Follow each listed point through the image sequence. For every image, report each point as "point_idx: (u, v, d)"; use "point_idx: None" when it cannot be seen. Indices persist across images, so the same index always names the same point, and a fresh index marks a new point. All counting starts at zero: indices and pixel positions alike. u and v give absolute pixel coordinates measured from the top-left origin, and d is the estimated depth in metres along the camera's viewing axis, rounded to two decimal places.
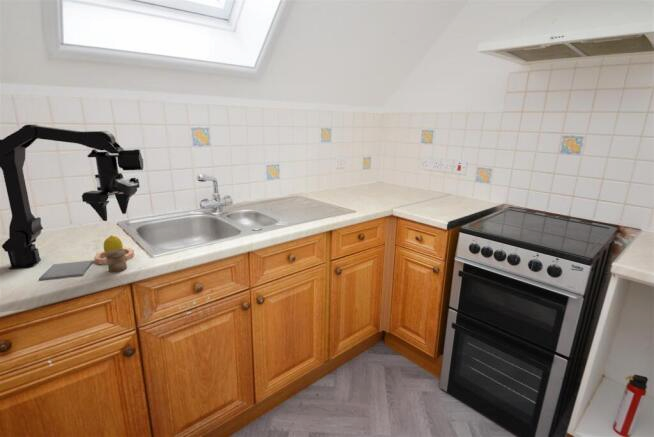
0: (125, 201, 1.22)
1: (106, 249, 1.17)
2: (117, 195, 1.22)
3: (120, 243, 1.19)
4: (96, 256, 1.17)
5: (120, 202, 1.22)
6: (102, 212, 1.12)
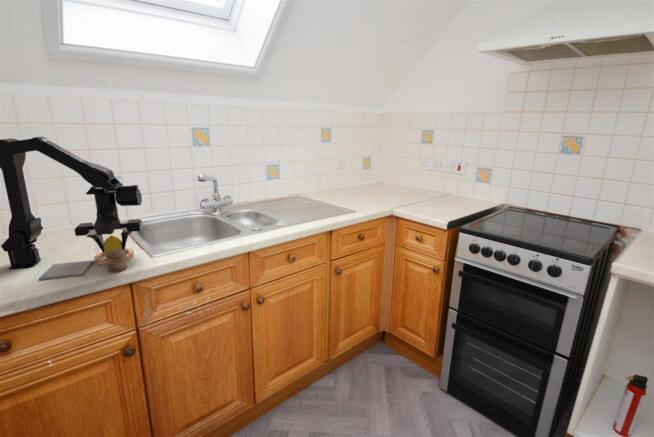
0: (122, 238, 1.19)
1: (106, 249, 1.17)
2: None
3: (120, 243, 1.19)
4: (96, 256, 1.17)
5: None
6: None
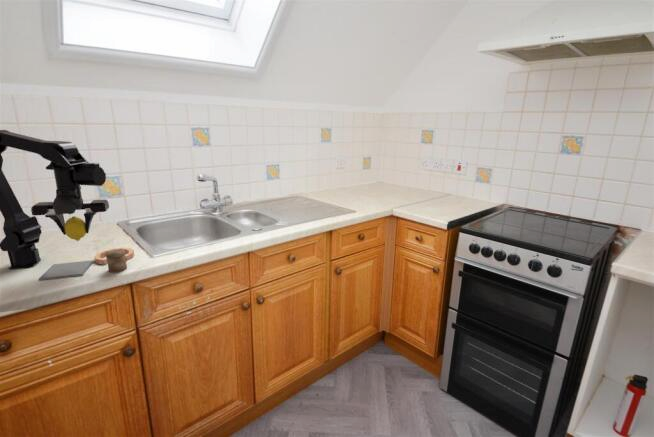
0: (85, 220, 1.09)
1: (67, 231, 1.07)
2: None
3: (83, 225, 1.10)
4: (96, 256, 1.17)
5: None
6: None
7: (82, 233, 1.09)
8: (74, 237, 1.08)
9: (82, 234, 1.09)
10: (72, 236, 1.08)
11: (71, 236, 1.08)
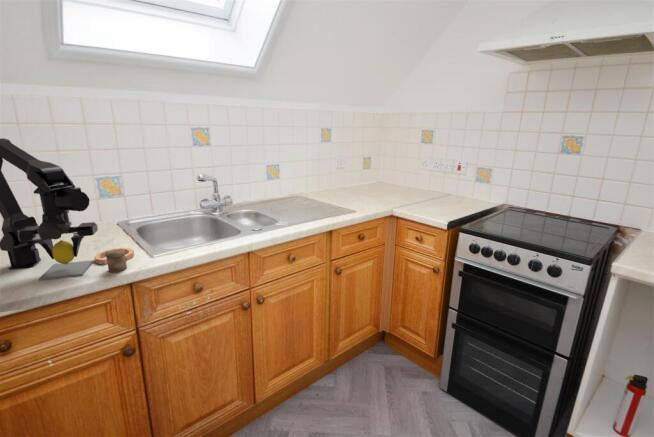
0: None
1: (55, 255, 1.06)
2: None
3: (71, 249, 1.08)
4: (96, 256, 1.17)
5: None
6: None
7: (70, 257, 1.08)
8: (62, 261, 1.07)
9: (70, 258, 1.08)
10: (60, 260, 1.06)
11: (59, 260, 1.06)
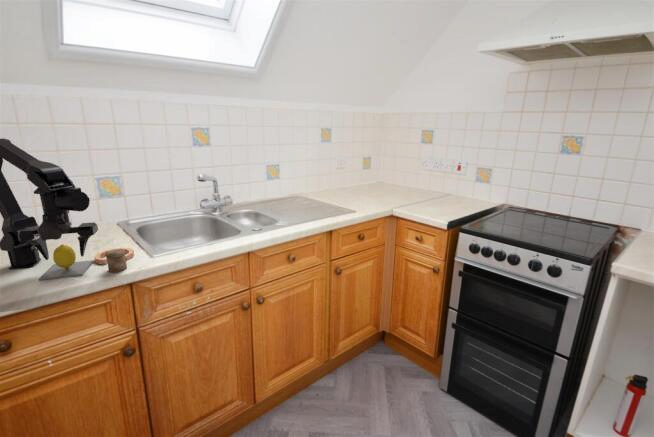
0: None
1: (55, 260, 1.06)
2: None
3: (72, 253, 1.08)
4: (96, 256, 1.17)
5: None
6: None
7: (71, 261, 1.08)
8: (63, 266, 1.07)
9: (71, 262, 1.08)
10: (60, 265, 1.07)
11: (59, 265, 1.07)
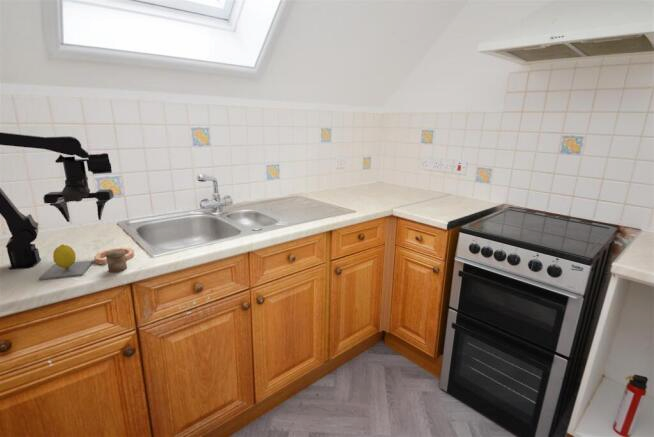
0: (98, 207, 1.20)
1: (55, 260, 1.06)
2: None
3: (72, 253, 1.08)
4: (96, 256, 1.17)
5: None
6: None
7: (71, 261, 1.08)
8: (63, 266, 1.07)
9: (71, 262, 1.08)
10: (60, 265, 1.07)
11: (59, 265, 1.07)
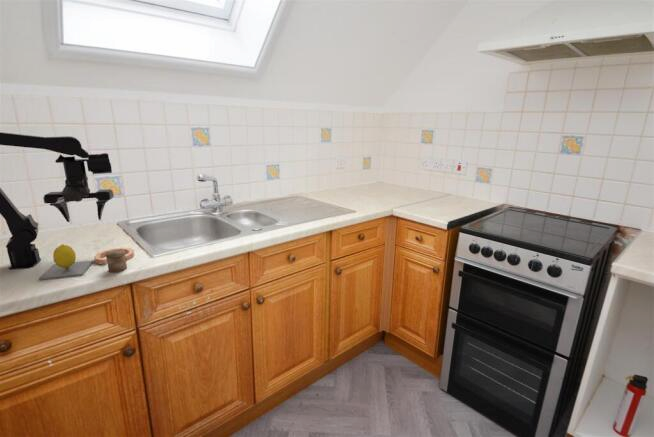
0: (98, 207, 1.20)
1: (55, 260, 1.06)
2: None
3: (72, 253, 1.08)
4: (96, 256, 1.17)
5: None
6: None
7: (71, 261, 1.08)
8: (63, 266, 1.07)
9: (71, 262, 1.08)
10: (60, 265, 1.07)
11: (60, 265, 1.07)
